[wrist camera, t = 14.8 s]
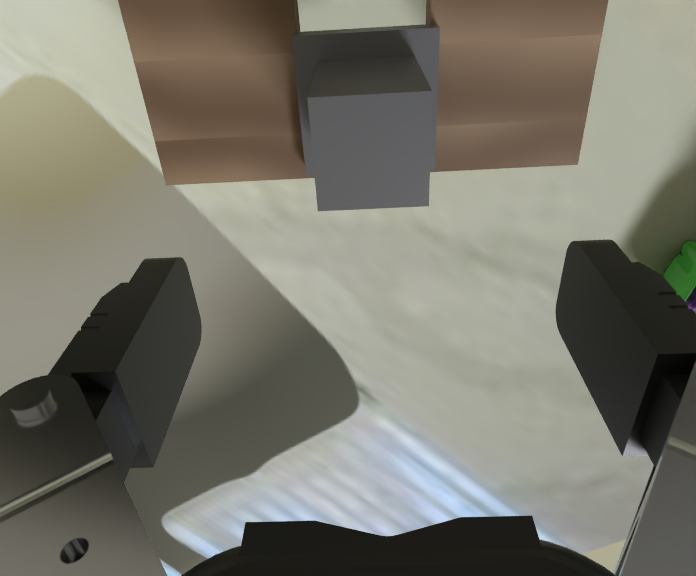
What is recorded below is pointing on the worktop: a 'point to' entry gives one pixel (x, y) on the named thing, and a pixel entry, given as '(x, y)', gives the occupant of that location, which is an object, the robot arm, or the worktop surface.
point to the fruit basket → (684, 274)
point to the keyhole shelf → (282, 99)
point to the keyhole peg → (368, 114)
